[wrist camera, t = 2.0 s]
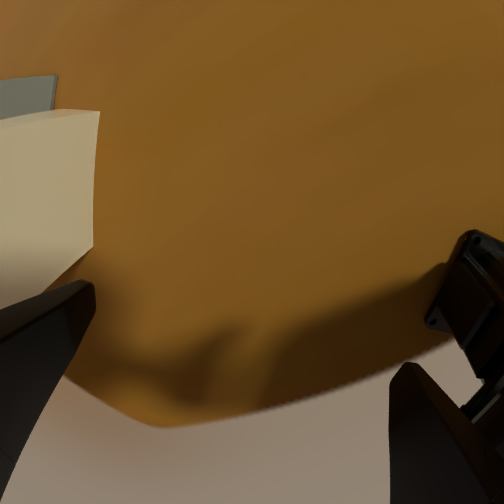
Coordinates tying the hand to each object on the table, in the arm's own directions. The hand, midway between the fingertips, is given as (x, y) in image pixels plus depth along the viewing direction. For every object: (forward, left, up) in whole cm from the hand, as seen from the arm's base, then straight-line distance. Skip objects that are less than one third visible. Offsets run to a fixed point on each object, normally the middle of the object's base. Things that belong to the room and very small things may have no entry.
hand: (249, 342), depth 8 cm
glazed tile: (+11, 0, -8) cm, 14 cm away
